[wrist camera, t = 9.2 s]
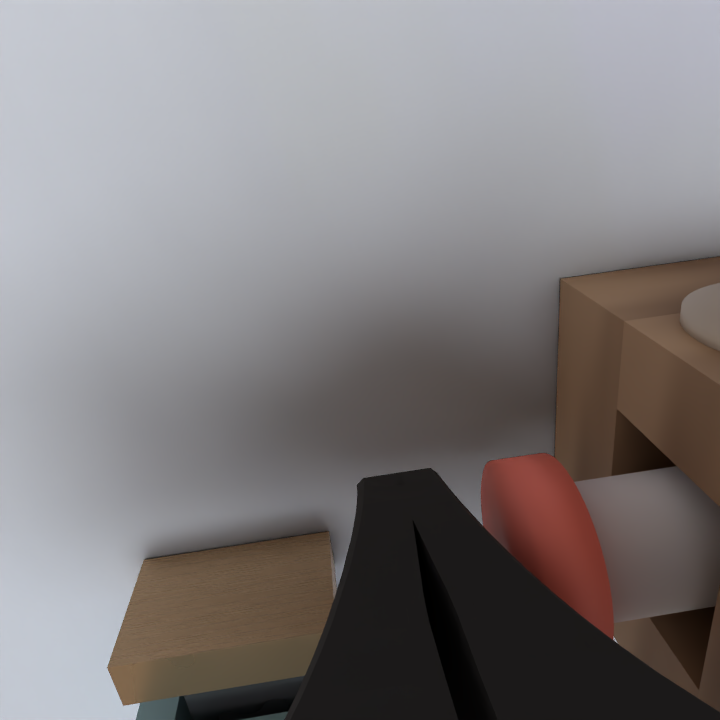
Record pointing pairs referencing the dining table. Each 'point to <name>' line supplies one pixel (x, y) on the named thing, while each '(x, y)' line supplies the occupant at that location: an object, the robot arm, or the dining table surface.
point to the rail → (226, 627)
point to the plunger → (607, 537)
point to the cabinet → (647, 418)
